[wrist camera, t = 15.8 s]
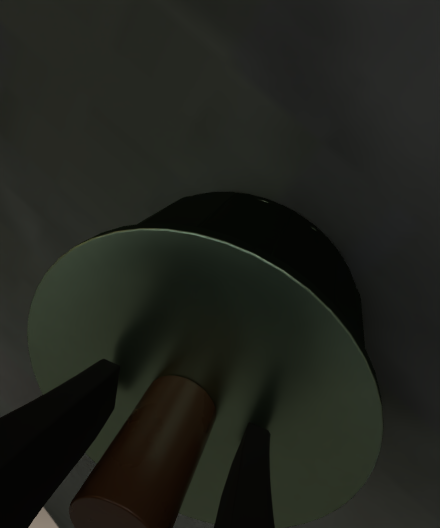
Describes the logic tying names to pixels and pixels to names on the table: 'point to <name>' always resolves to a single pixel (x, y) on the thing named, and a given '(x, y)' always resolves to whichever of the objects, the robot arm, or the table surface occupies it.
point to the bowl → (273, 241)
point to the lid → (205, 375)
